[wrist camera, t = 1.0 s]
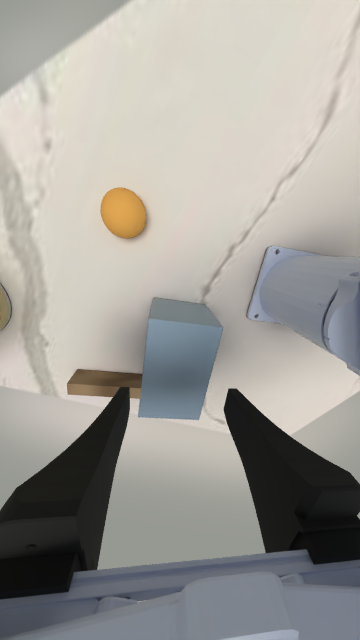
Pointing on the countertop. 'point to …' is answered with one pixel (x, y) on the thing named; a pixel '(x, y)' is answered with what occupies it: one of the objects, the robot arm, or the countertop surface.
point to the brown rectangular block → (103, 383)
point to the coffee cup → (4, 308)
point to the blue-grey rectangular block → (178, 359)
